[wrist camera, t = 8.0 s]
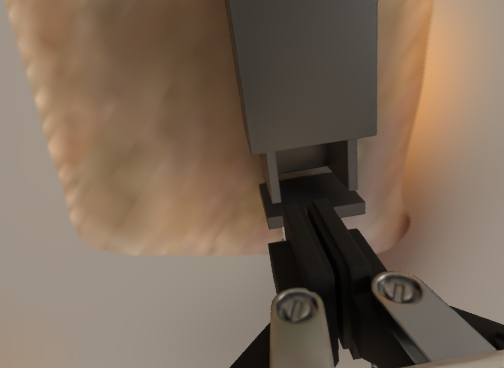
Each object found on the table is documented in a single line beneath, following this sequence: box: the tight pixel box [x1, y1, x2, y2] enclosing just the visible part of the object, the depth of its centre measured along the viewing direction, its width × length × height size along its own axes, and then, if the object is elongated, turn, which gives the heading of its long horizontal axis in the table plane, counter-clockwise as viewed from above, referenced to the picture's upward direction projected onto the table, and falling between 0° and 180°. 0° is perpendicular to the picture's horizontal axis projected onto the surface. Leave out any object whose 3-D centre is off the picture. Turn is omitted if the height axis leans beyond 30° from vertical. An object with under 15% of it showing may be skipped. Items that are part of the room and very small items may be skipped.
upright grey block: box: [225, 0, 378, 155], centre depth 27 cm, size 13×10×9 cm
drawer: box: [259, 139, 365, 241], centre depth 31 cm, size 17×9×8 cm, turn 8°
